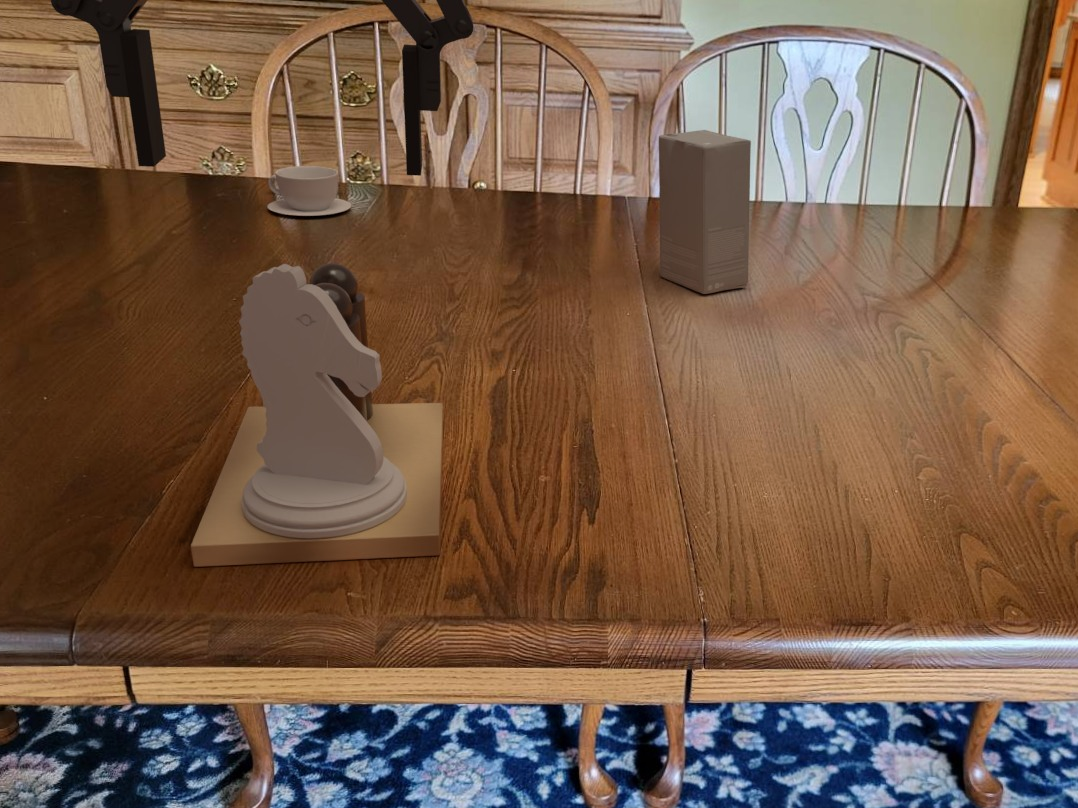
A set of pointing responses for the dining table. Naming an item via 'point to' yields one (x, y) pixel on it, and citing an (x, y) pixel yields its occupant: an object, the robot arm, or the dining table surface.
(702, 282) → the cosmetic box
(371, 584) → the dining table surface
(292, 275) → the chess piece
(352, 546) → the wooden stand with posts
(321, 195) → the teacup
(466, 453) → the dining table surface
